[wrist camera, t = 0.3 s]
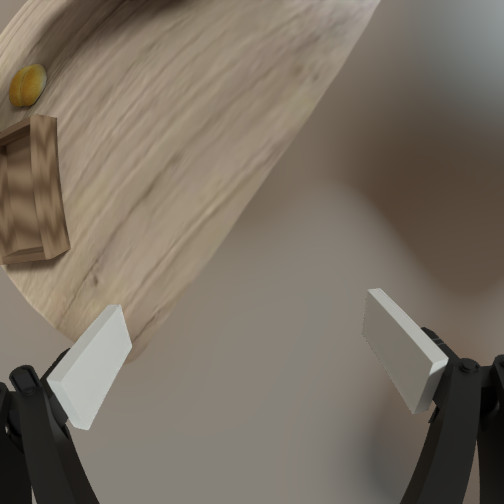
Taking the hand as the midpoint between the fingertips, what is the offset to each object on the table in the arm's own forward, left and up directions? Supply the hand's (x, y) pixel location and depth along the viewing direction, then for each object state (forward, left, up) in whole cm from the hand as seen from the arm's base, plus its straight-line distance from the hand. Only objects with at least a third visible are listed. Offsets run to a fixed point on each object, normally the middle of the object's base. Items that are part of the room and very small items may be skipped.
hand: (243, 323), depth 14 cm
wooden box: (-10, -37, -28) cm, 47 cm away
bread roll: (-30, -37, -28) cm, 55 cm away
